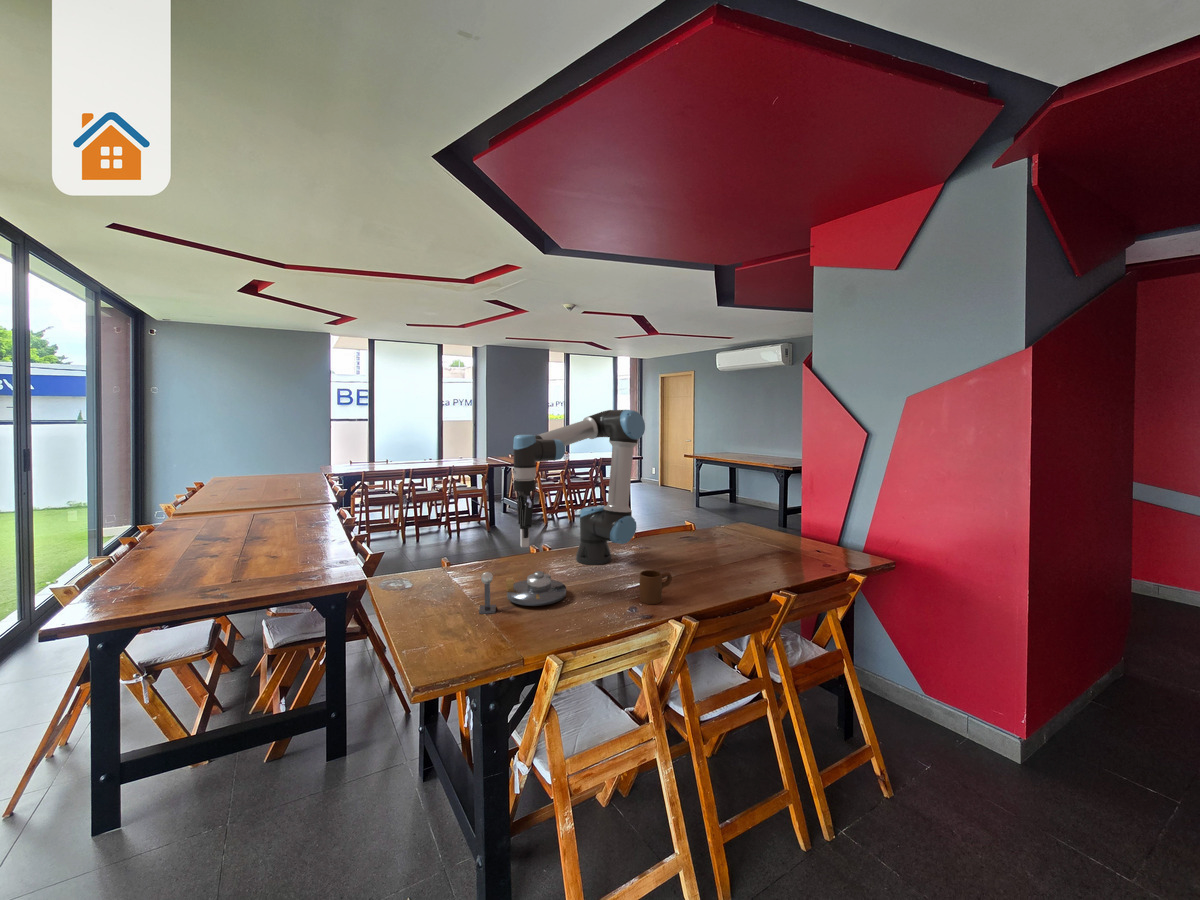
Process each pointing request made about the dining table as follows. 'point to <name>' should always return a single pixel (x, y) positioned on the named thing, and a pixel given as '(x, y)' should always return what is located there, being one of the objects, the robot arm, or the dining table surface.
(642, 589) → the mug
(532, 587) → the cover
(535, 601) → the turntable
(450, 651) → the dining table surface
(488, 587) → the globe lamp
